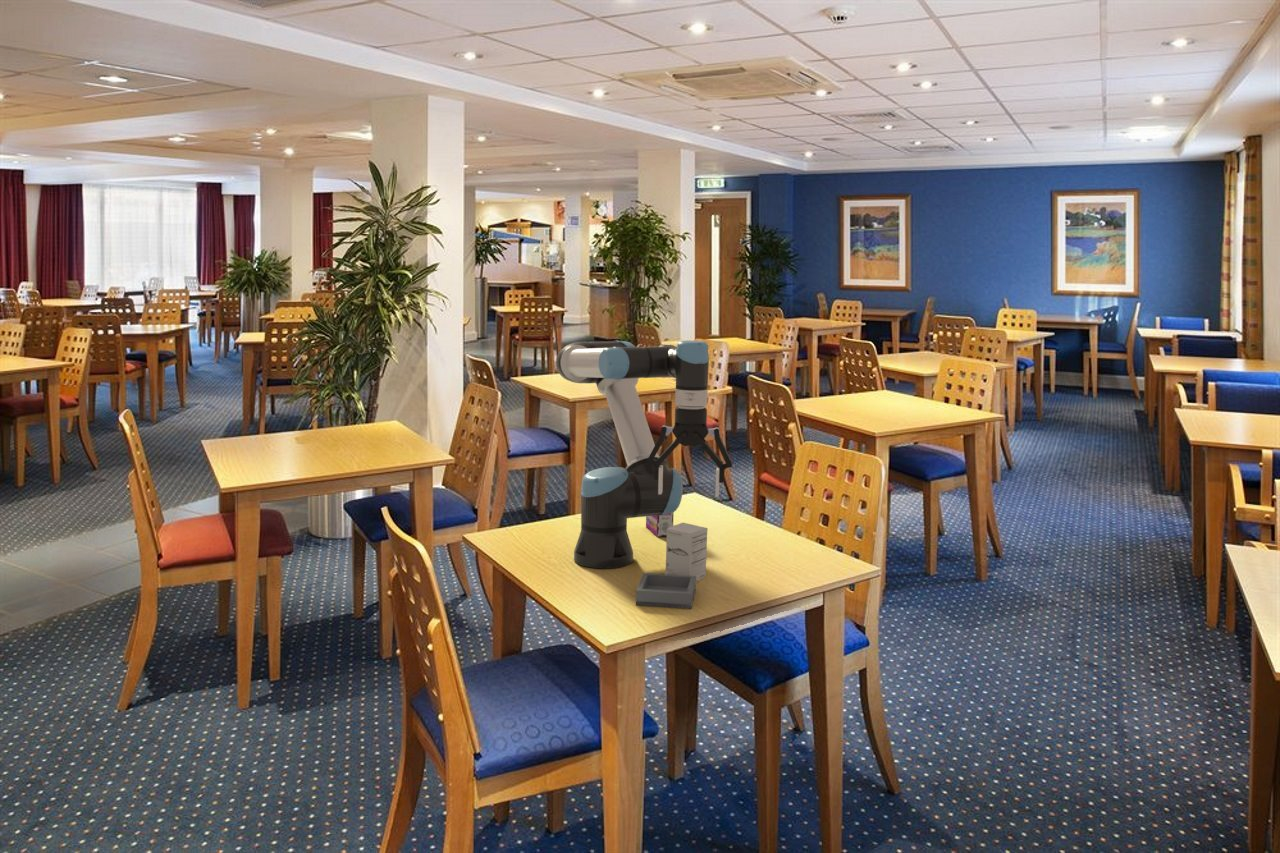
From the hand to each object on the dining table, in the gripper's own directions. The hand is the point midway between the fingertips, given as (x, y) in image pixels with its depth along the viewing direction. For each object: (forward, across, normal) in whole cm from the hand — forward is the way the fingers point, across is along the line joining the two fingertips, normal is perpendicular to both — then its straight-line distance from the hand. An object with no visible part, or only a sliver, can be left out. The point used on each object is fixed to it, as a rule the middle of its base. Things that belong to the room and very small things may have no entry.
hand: (688, 494), depth 225 cm
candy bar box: (+21, -11, +39) cm, 45 cm away
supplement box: (+21, 0, 0) cm, 21 cm away
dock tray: (+21, -3, -15) cm, 26 cm away
